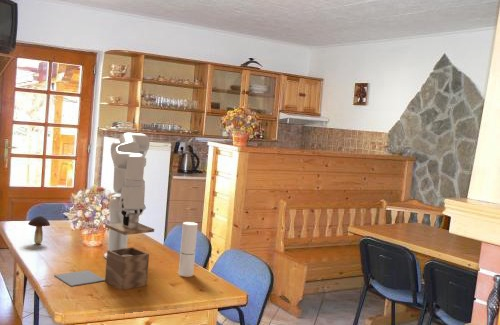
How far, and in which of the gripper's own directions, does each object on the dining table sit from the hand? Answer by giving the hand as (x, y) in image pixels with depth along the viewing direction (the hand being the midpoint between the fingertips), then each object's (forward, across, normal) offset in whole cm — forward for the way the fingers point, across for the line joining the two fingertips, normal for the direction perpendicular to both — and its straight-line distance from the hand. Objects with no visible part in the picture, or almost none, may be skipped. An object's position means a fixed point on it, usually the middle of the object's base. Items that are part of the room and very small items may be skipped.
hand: (130, 224), depth 225 cm
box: (+26, 0, +1) cm, 27 cm away
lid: (+2, 0, 0) cm, 2 cm away
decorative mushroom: (+28, +6, -77) cm, 82 cm away
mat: (+27, +14, -14) cm, 33 cm away
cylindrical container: (+27, -32, +3) cm, 42 cm away
